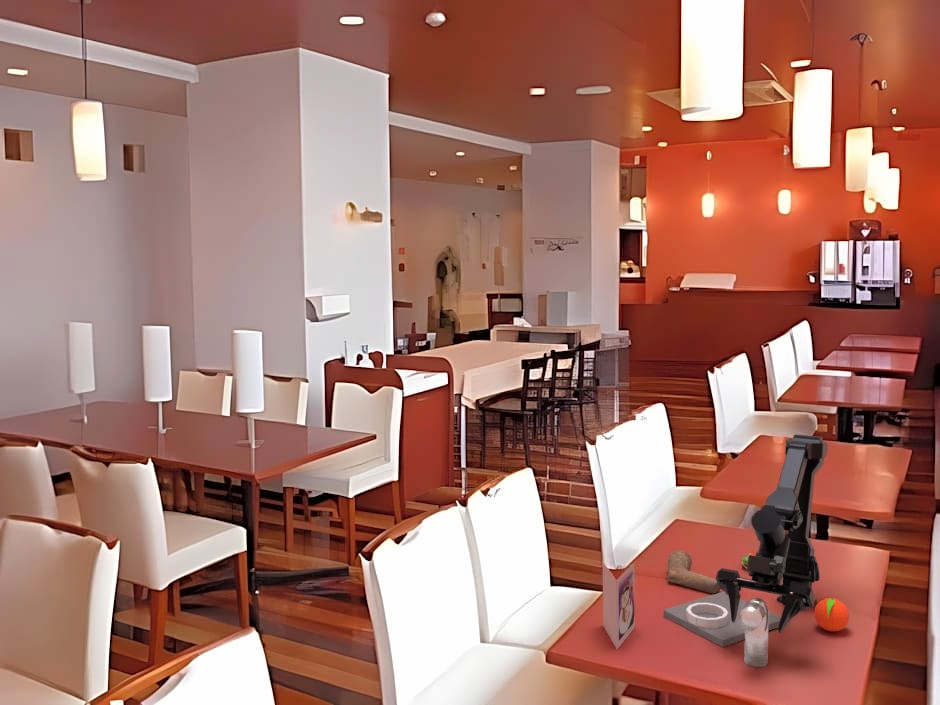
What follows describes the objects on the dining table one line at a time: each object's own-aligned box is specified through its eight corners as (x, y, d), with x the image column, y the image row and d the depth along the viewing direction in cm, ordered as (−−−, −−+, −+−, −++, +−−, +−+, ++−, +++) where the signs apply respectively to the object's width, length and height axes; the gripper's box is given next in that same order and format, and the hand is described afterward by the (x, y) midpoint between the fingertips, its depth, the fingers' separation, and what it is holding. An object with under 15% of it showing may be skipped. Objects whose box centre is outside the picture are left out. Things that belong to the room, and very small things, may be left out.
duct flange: (724, 597, 206) (724, 583, 205) (785, 625, 190) (785, 610, 190) (663, 616, 197) (663, 601, 196) (722, 647, 181) (722, 631, 181)
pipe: (715, 579, 205) (732, 560, 212) (652, 563, 216) (671, 546, 223) (716, 603, 207) (734, 583, 214) (654, 586, 218) (673, 568, 225)
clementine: (845, 641, 182) (846, 609, 181) (810, 634, 186) (811, 603, 185) (851, 627, 189) (852, 595, 188) (817, 620, 192) (818, 589, 192)
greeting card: (620, 650, 181) (620, 581, 179) (587, 643, 185) (586, 575, 183) (638, 628, 191) (638, 563, 189) (606, 622, 195) (606, 557, 193)
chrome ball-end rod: (747, 654, 178) (748, 592, 176) (770, 659, 175) (771, 597, 174) (735, 671, 171) (736, 607, 169) (758, 677, 168) (760, 612, 167)
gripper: (719, 530, 181) (700, 599, 173) (813, 546, 170) (798, 620, 163) (730, 555, 188) (713, 622, 181) (820, 571, 178) (806, 643, 170)
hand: (755, 626), depth 173 cm, fingers open, 9 cm apart
